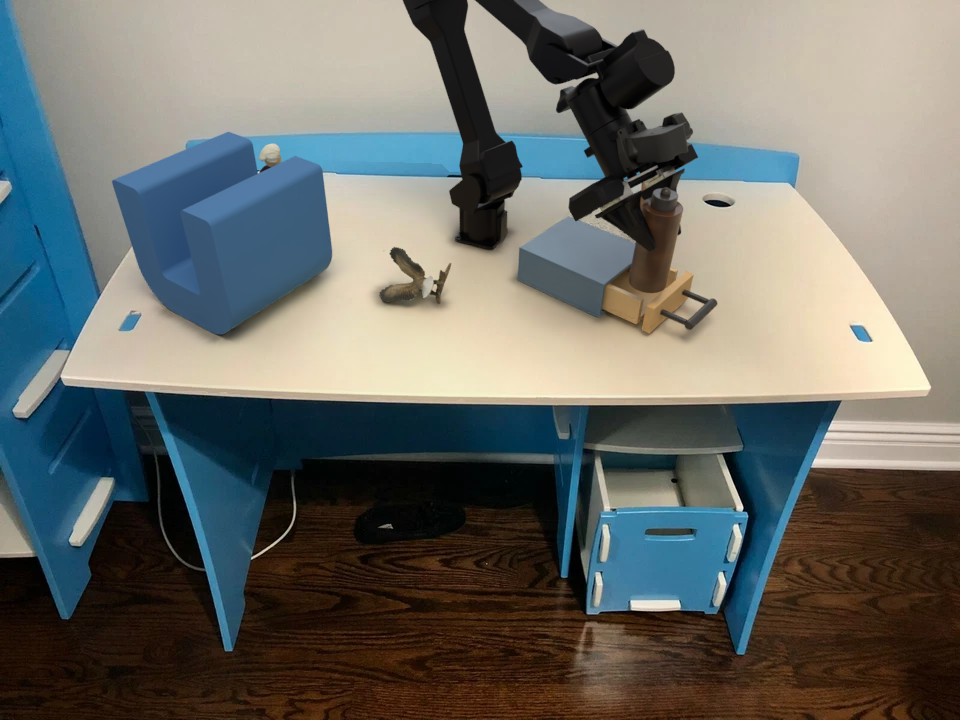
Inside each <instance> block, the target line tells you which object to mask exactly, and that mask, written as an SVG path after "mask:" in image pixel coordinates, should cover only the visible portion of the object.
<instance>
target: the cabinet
mask: <svg viewBox="0 0 960 720" xmlns="http://www.w3.org/2000/svg"><path fill="white" fill-rule="evenodd" d="M635 243H636V242H635V241H632V240H629V239H627V238H625V237H623V236H620V235H616V234H614V233H612V232H609V231H607V230H605V229H602V228H599V227H598V226H594V225H592V224H589V223H587V222H584V221H582V220H578V221H576V222H575V220H574V218H573V216H570V215H567V216H566V217H564V218H563V219H561V220H560V221H558V222H557V223H555V224H553V225H552V226H550V227H548V228H547V229H546V230H544V231H543V232H541V233H539V234H538V235H536V236H534V237H533V238H531V239H530V240H528V241H527V242H526V243H524V244H522V245H521V246H519V248H518V265H517V281H519V282H520V283H523V284H525V285H527V286H529V287H530V288H531V287H532V288H533V289H536V290H537V291H539V292H542V293H544V294H546V295H548V296H550V297H553V298H555V299H557V300H559V301H561V302H563V303H565V304H567V305H569V306H572V307H574V308H576V309H578V310H581V311H583V312H585V313H587V314H589V315H591V316H593V317H595V318H597V319H600V318H601V317H602V316H604V315H605V314H606V313H607V312H608V311H606V310H604V309H602V305H603V298H604V292H605V286H606V285H607V284H609V283H610V282H611V281H613V280H614V279H615V278H616V277H618V276H619V275H620V274H621V273H623V272H624V271H625V270H627V269H628V268H629V267H630V266H631V264H632V259H633V254H634V248H635Z"/></svg>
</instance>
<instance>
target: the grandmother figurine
mask: <svg viewBox="0 0 960 720" xmlns="http://www.w3.org/2000/svg"><path fill="white" fill-rule="evenodd" d="M258 160H259V161H260V162H264V163H265V165H264V166H262V168H261V169H260V170H259V172H258V173H261V172H263V171H265V170H267V169H269V168H271V167H273V166H275V165H277V164H279V163H281V162H282V156H281V148H280V146H279V145H277V144H276V143H268V144H266V145H265V146H264V147H262V149H261V151H260V153H259V155H258Z"/></svg>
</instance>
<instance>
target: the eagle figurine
mask: <svg viewBox="0 0 960 720" xmlns="http://www.w3.org/2000/svg"><path fill="white" fill-rule="evenodd" d="M389 251H390V252H389V253H388V254H389V256H390V258H391V259H392V262H393V263H394V264H396V265H397V266H398V268H399V269H400V271H401V272H402V273H403V274H405V275H406V276H408V277H409V278H411V279H412V281H411V282H407V283H396V284H390V285H388V286H386V287H384V288H383V289H381V291H379V297H380V299H381V300H382V301H383V302H386V303H387V302H389V303H390V302H395V301H403V302H408V301H413V300H414V299H415V298H416V296H417V295H418V294H420V293H421V294H422V298H423V299H426V298H428V296H434V298H435V300H436V302H437V303H438V304H441V302H442V301H441V296H442V293H443V290H444V287H445V284H446V281H447V279H448V276H449V273H450V271H451V267H452V262H449V263H448V265H447V266H446V268H445V270H444V271H443V270H442V269H440V270H439V275H438V279H434V278H433V276H432V275H429V276H428V277H425V276H426V271H425V270H424V268H423V267H422V265H420V264H419V263H418V262H415V261H413V260H412V258H411V257H410V256H409V254H408V253H407V252H406V250H405V249H403V248H401V247H397V246H393V247H391V249H390V250H389ZM435 285H436V289H435V291H434V290H433V288H434V286H435Z"/></svg>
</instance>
